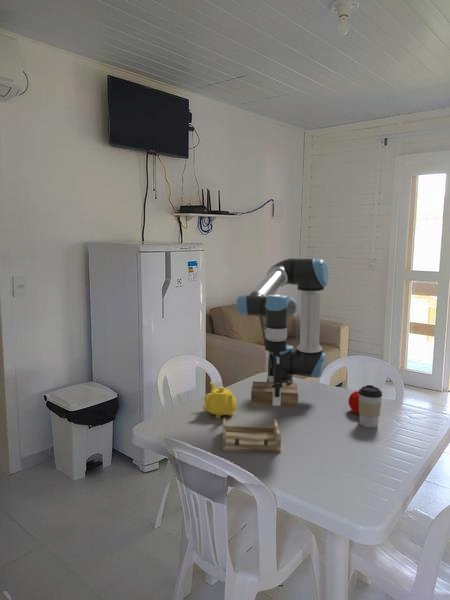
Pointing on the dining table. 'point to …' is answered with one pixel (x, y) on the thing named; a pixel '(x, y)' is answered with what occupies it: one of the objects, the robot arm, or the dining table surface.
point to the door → (264, 394)
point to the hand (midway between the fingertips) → (274, 399)
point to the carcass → (251, 438)
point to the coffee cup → (369, 405)
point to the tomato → (354, 402)
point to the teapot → (220, 401)
